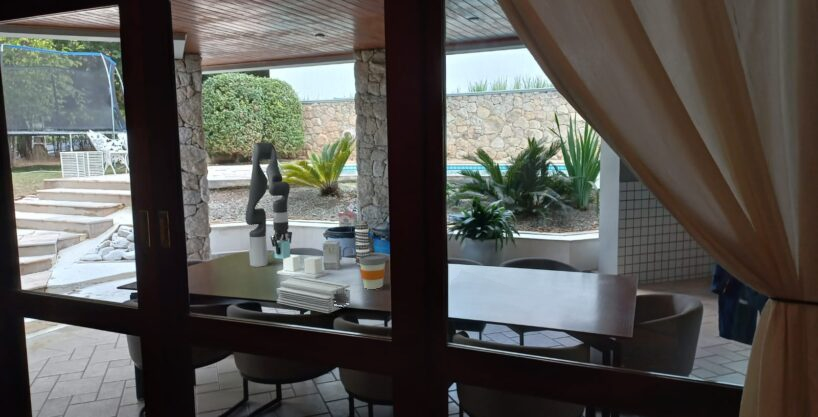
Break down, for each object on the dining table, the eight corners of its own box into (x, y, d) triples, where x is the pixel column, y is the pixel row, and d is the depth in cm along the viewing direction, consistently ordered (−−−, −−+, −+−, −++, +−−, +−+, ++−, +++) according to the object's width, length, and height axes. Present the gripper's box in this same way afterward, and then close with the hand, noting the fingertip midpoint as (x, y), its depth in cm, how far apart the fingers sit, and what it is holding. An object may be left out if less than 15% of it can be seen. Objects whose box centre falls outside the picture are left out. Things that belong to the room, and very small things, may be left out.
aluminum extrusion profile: (327, 314, 233) (326, 290, 231) (277, 303, 250) (275, 281, 249) (350, 305, 244) (349, 282, 243) (300, 295, 262) (299, 274, 261)
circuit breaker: (342, 264, 325) (341, 239, 323) (337, 270, 310) (335, 243, 309) (329, 264, 325) (328, 239, 323) (323, 270, 311) (322, 243, 309)
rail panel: (277, 273, 306) (276, 257, 305) (292, 269, 316) (291, 253, 315) (314, 278, 293) (313, 261, 292) (328, 273, 303) (328, 256, 302)
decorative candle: (351, 264, 324) (350, 221, 321) (361, 261, 332) (359, 219, 329) (364, 266, 319) (363, 222, 317) (374, 262, 327) (372, 220, 324)
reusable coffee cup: (366, 292, 264) (365, 260, 262) (356, 286, 275) (355, 256, 273) (390, 288, 270) (389, 257, 268) (379, 282, 281) (378, 253, 279)
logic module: (274, 257, 290) (274, 241, 289) (281, 255, 294) (280, 239, 293) (283, 258, 287) (282, 242, 286) (290, 256, 291) (289, 240, 290)
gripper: (284, 218, 296) (286, 250, 298) (265, 222, 284) (267, 255, 286) (295, 219, 292) (297, 251, 294) (276, 223, 280) (278, 256, 282)
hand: (282, 253), depth 290 cm, fingers closed on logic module, 5 cm apart
